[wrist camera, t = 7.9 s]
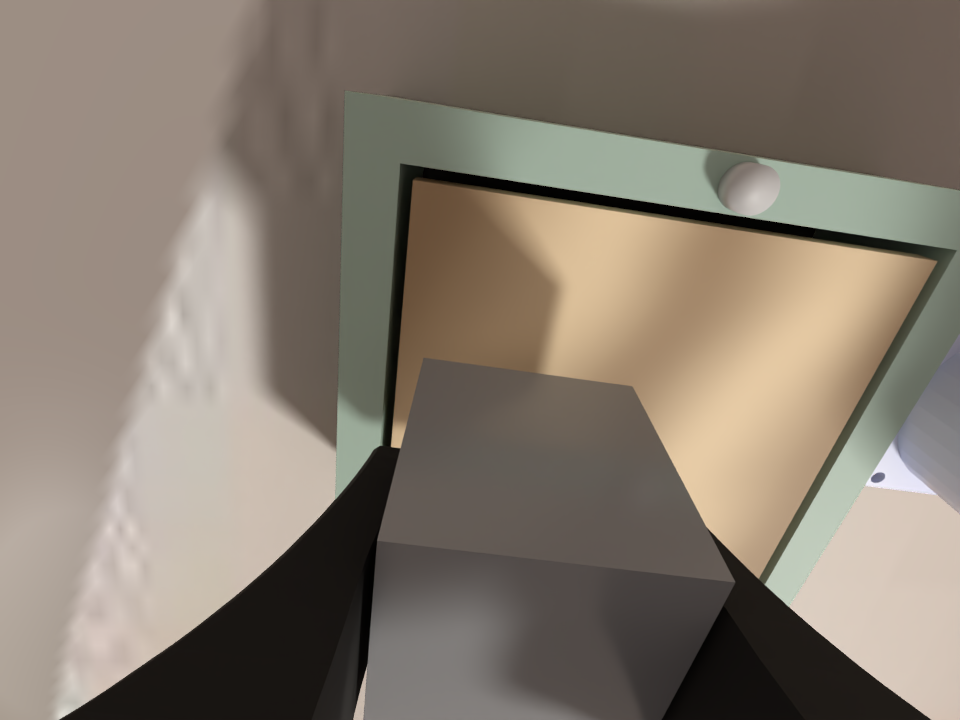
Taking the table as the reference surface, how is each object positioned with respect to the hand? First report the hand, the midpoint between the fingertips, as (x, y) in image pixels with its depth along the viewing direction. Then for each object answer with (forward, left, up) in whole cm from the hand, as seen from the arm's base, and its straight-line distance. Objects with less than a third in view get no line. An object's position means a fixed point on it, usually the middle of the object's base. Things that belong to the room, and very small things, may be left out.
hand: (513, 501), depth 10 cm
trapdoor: (-3, 0, -6) cm, 7 cm away
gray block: (0, 0, -1) cm, 1 cm away
